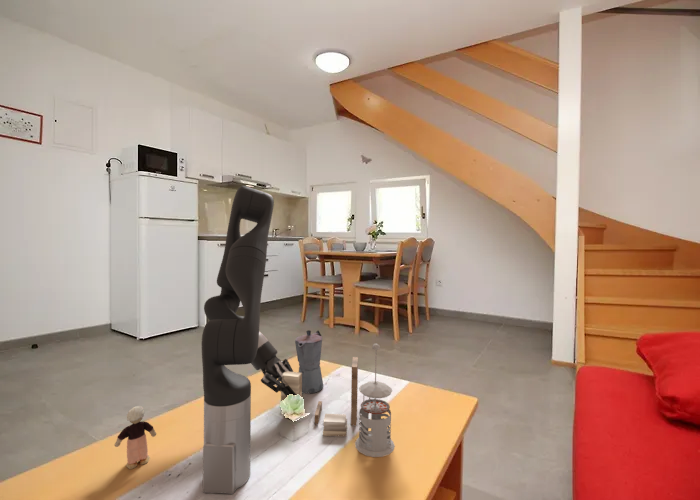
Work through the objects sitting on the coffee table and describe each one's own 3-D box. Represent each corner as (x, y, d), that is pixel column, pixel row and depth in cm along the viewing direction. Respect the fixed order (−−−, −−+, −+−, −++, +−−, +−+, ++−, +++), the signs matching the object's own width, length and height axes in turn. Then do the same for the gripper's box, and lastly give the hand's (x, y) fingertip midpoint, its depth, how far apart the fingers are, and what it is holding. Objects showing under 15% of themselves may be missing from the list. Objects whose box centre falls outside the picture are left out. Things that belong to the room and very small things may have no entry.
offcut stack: (346, 436, 86) (346, 422, 86) (322, 435, 86) (323, 421, 86) (347, 427, 90) (347, 414, 90) (324, 426, 91) (325, 413, 91)
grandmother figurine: (151, 452, 79) (151, 398, 78) (157, 458, 76) (157, 403, 76) (112, 468, 73) (112, 411, 72) (118, 476, 70) (118, 417, 70)
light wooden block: (297, 416, 93) (298, 376, 93) (280, 414, 94) (281, 375, 94) (301, 411, 96) (302, 372, 96) (285, 408, 97) (285, 371, 97)
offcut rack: (356, 425, 91) (357, 367, 91) (314, 424, 92) (315, 365, 91) (357, 410, 99) (357, 357, 99) (318, 409, 100) (319, 356, 99)
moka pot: (286, 395, 109) (287, 333, 109) (306, 377, 124) (307, 323, 123) (314, 399, 106) (314, 336, 106) (330, 380, 121) (331, 325, 121)
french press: (361, 460, 77) (363, 351, 76) (348, 432, 88) (349, 337, 87) (401, 453, 79) (403, 348, 79) (383, 427, 91) (384, 335, 90)
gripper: (253, 348, 90) (296, 398, 87) (276, 334, 103) (313, 377, 101) (235, 365, 91) (277, 416, 88) (260, 350, 105) (297, 393, 102)
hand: (296, 395), depth 95 cm, fingers closed on light wooden block, 3 cm apart
